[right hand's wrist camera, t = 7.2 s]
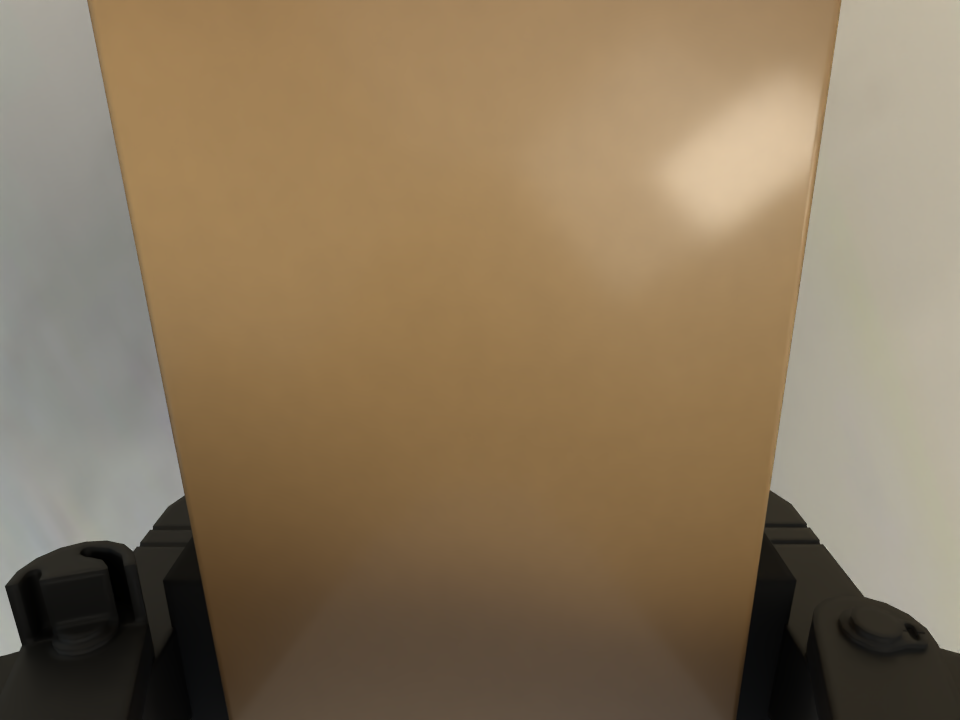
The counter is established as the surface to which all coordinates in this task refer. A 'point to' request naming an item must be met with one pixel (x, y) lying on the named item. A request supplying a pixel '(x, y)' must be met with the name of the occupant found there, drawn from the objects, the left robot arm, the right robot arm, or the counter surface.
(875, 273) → the counter surface
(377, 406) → the post
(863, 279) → the counter surface
